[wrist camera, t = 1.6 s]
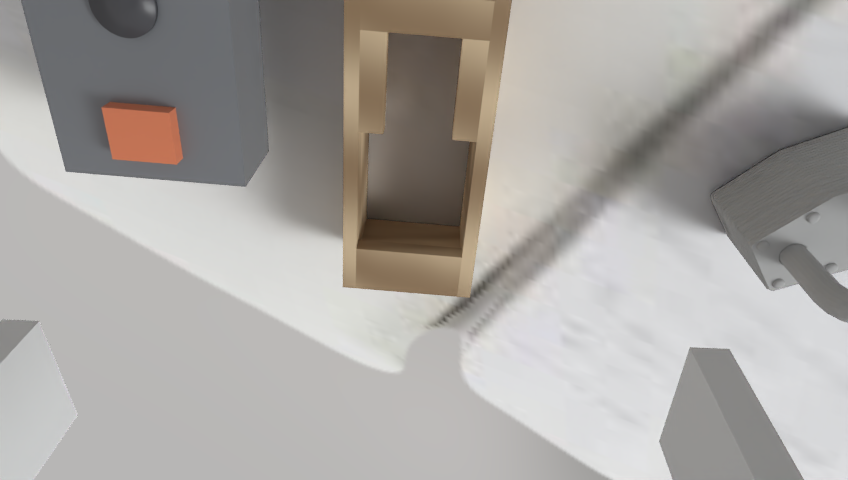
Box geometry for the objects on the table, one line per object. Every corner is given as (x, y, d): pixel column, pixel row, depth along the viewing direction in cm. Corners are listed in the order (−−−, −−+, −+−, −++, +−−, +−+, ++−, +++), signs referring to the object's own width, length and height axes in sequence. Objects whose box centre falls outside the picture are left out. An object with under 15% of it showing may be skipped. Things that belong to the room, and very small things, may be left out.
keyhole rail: (365, -440, 19) (345, -508, 15) (557, -423, 19) (580, -487, 15) (354, 242, 32) (342, 287, 28) (467, 251, 32) (469, 297, 28)
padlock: (858, 109, 27) (1044, 219, 19) (878, 178, 29) (1056, 307, 20) (703, 183, 29) (805, 312, 21) (729, 243, 31) (834, 385, 23)
